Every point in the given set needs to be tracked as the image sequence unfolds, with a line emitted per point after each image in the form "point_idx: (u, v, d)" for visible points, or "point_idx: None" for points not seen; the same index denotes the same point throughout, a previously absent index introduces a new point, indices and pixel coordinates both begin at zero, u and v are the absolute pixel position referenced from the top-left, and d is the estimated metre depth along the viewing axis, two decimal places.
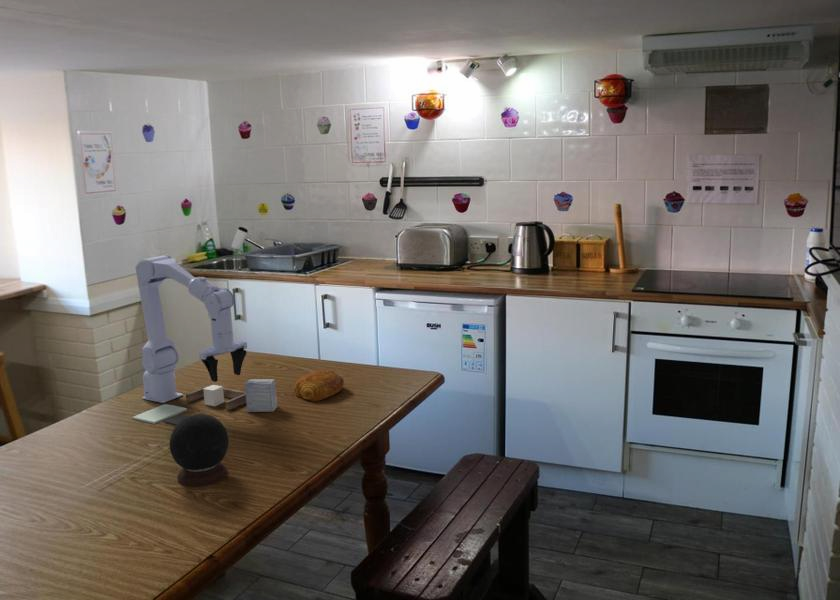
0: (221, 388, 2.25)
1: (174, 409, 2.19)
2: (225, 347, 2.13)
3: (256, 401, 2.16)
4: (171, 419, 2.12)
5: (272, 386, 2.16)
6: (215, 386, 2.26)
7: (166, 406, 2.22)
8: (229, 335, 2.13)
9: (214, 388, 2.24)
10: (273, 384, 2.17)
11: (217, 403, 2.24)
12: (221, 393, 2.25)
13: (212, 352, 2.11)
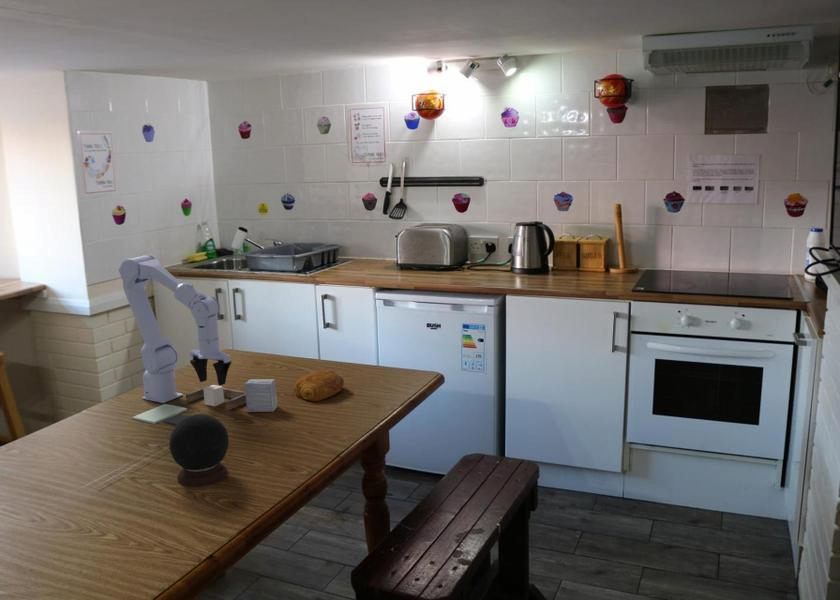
0: (221, 388, 2.25)
1: (174, 409, 2.19)
2: (200, 353, 2.20)
3: (256, 401, 2.16)
4: (171, 419, 2.12)
5: (272, 386, 2.16)
6: (215, 386, 2.26)
7: (166, 406, 2.22)
8: (203, 343, 2.19)
9: (214, 388, 2.24)
10: (273, 384, 2.17)
11: (217, 403, 2.24)
12: (221, 393, 2.25)
13: (194, 353, 2.23)
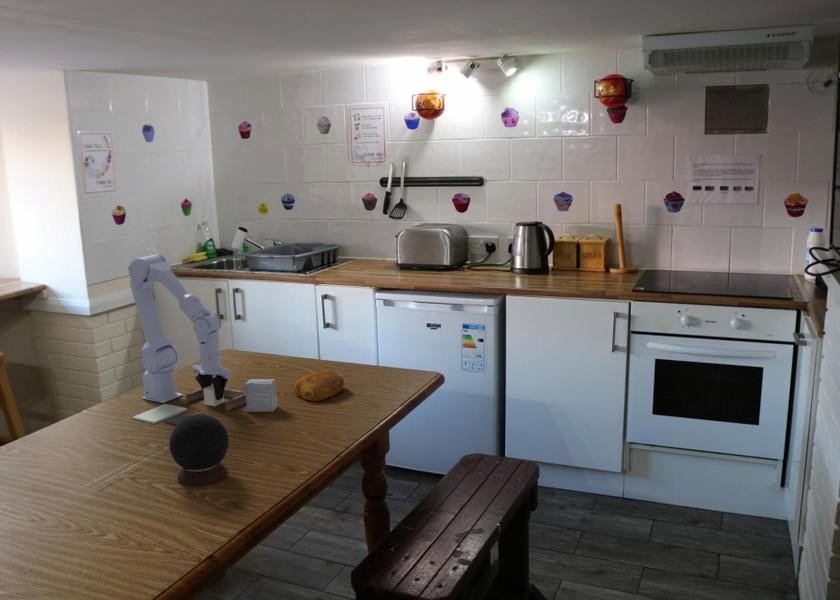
0: None
1: (174, 409, 2.19)
2: (202, 369, 2.21)
3: (256, 401, 2.16)
4: (171, 419, 2.12)
5: (272, 386, 2.16)
6: None
7: (166, 406, 2.22)
8: (205, 359, 2.20)
9: None
10: (273, 384, 2.17)
11: (217, 403, 2.24)
12: None
13: (196, 369, 2.24)
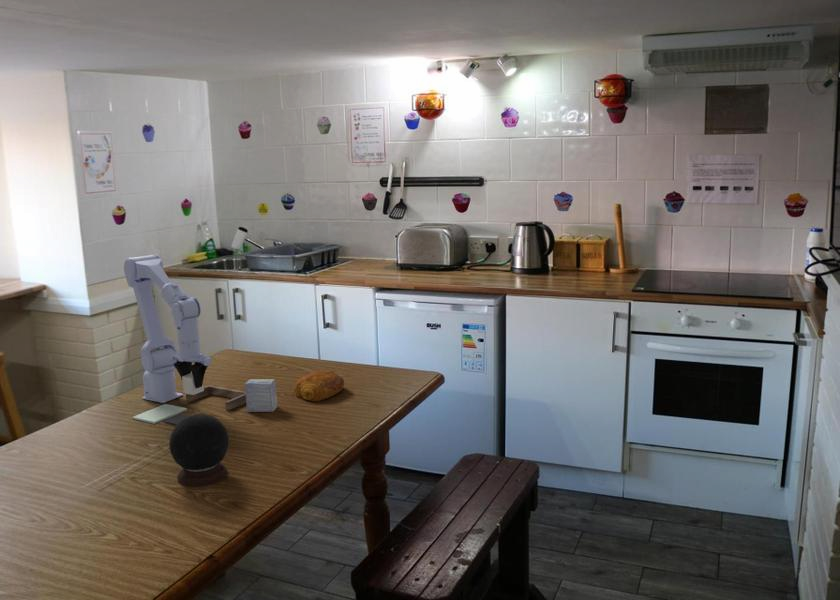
0: None
1: (174, 409, 2.19)
2: (180, 355, 2.14)
3: (256, 401, 2.16)
4: (171, 419, 2.12)
5: (272, 386, 2.16)
6: None
7: (166, 406, 2.22)
8: (183, 346, 2.12)
9: None
10: (273, 384, 2.17)
11: (196, 391, 2.16)
12: None
13: (174, 356, 2.17)
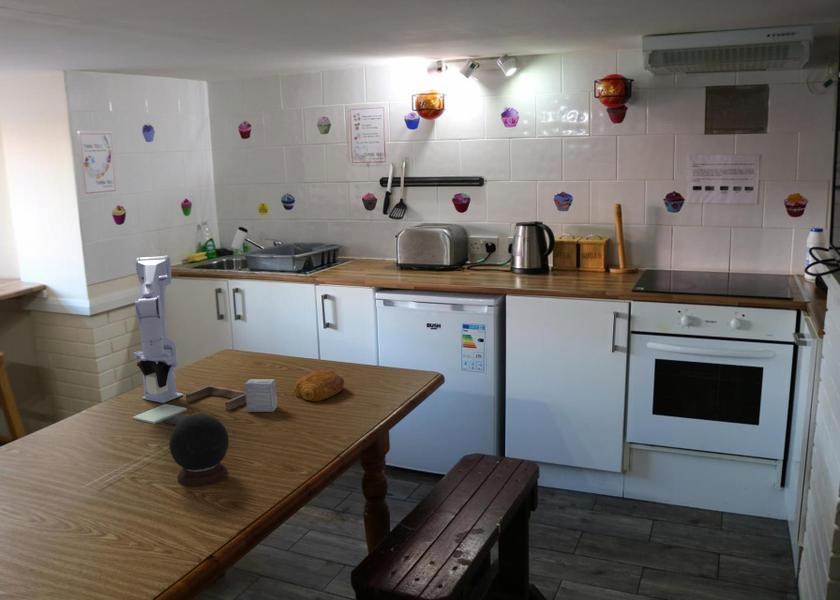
0: None
1: (174, 409, 2.19)
2: (143, 354, 2.12)
3: (256, 401, 2.16)
4: (171, 419, 2.12)
5: (272, 386, 2.16)
6: None
7: (166, 406, 2.22)
8: (146, 345, 2.10)
9: None
10: (273, 384, 2.17)
11: (160, 391, 2.14)
12: None
13: (138, 355, 2.15)
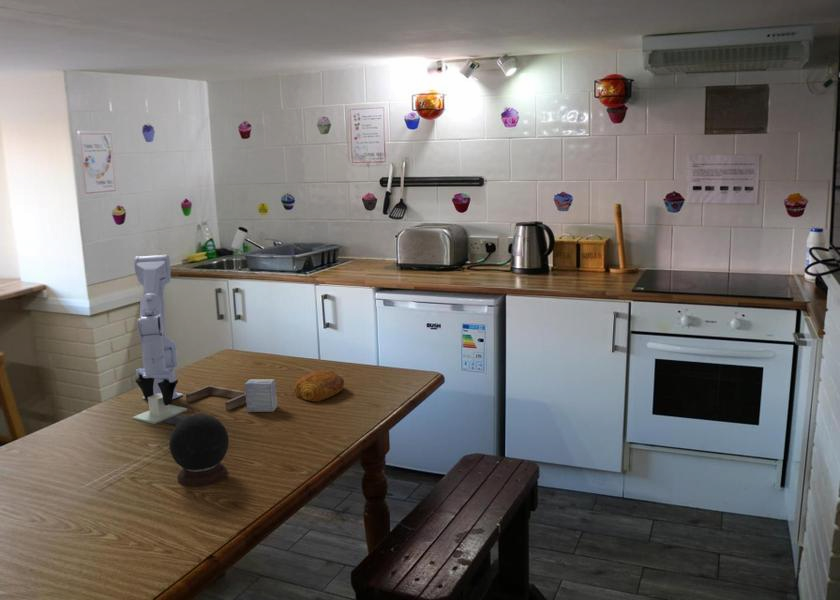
0: None
1: (174, 409, 2.19)
2: (145, 372, 2.13)
3: (256, 401, 2.16)
4: (171, 419, 2.12)
5: (272, 386, 2.16)
6: (160, 394, 2.17)
7: None
8: (148, 362, 2.11)
9: (159, 397, 2.15)
10: (273, 384, 2.17)
11: (162, 412, 2.16)
12: None
13: (140, 372, 2.16)
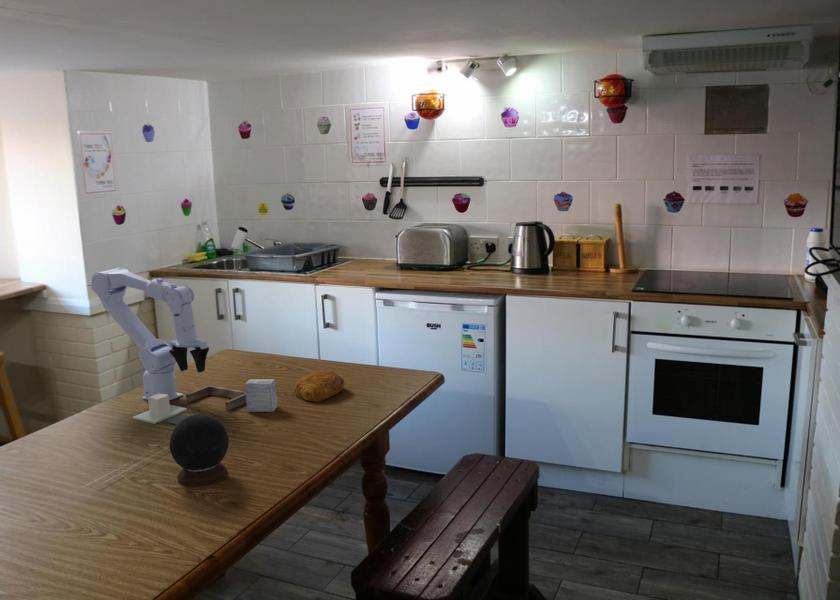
0: (167, 397, 2.17)
1: (174, 409, 2.19)
2: (177, 341, 2.23)
3: (256, 401, 2.16)
4: (171, 419, 2.12)
5: (272, 386, 2.16)
6: (160, 394, 2.17)
7: None
8: (179, 331, 2.21)
9: (159, 397, 2.15)
10: (273, 384, 2.17)
11: (162, 412, 2.16)
12: (167, 402, 2.17)
13: (173, 343, 2.26)
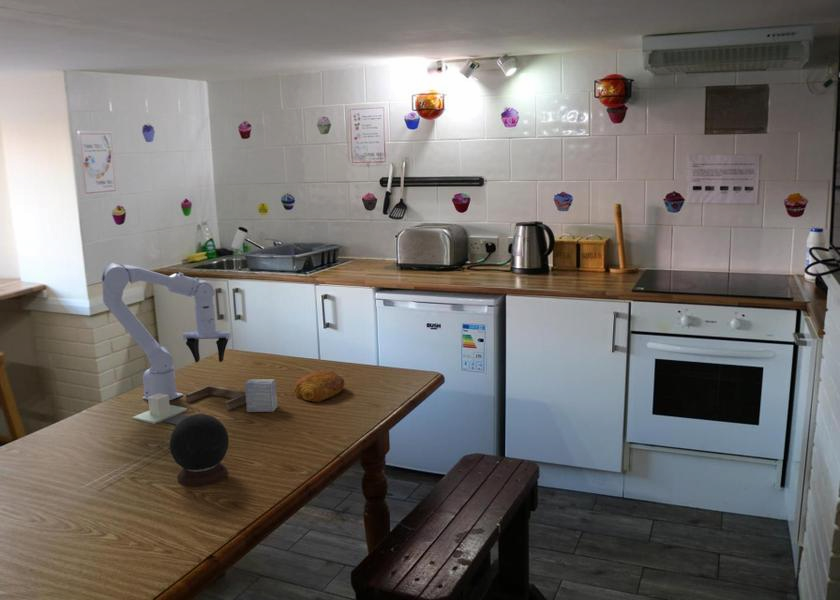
0: (167, 397, 2.17)
1: (174, 409, 2.19)
2: (200, 333, 2.31)
3: (256, 401, 2.16)
4: (171, 419, 2.12)
5: (272, 386, 2.16)
6: (160, 394, 2.17)
7: None
8: (204, 323, 2.31)
9: (159, 397, 2.15)
10: (273, 384, 2.17)
11: (162, 412, 2.16)
12: (167, 402, 2.17)
13: (190, 335, 2.33)
